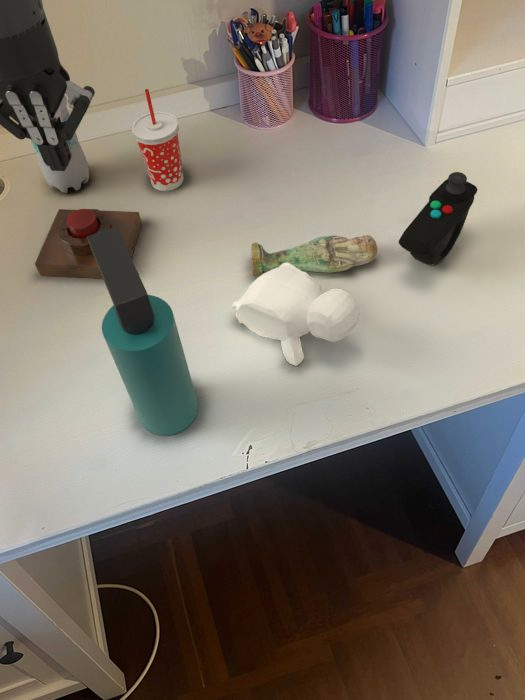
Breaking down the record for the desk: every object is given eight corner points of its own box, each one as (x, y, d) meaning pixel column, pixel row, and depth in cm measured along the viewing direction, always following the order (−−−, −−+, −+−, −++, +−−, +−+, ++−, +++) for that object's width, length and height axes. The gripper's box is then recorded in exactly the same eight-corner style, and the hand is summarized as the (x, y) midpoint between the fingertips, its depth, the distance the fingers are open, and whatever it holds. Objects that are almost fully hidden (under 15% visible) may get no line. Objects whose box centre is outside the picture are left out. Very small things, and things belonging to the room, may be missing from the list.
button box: (40, 275, 83) (29, 253, 80) (63, 221, 89) (54, 198, 86) (124, 279, 82) (116, 257, 79) (142, 224, 88) (135, 201, 84)
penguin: (242, 350, 78) (341, 381, 68) (213, 295, 73) (317, 320, 63) (285, 304, 82) (386, 328, 71) (261, 249, 76) (366, 266, 66)
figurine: (254, 247, 84) (252, 225, 81) (375, 247, 82) (377, 224, 79) (251, 279, 80) (248, 257, 77) (377, 279, 79) (379, 257, 76)
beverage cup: (140, 175, 94) (115, 85, 83) (179, 161, 95) (161, 71, 84) (154, 200, 90) (130, 110, 79) (195, 185, 92) (178, 94, 80)
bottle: (102, 183, 93) (57, 48, 77) (60, 204, 91) (4, 70, 75) (80, 160, 97) (33, 26, 81) (39, 180, 95) (-18, 47, 78)
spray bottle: (206, 421, 69) (173, 296, 53) (149, 445, 68) (97, 324, 52) (172, 345, 75) (133, 213, 59) (119, 365, 74) (64, 236, 58)
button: (67, 238, 82) (62, 228, 80) (75, 218, 84) (71, 208, 82) (94, 239, 81) (90, 229, 80) (102, 219, 83) (98, 209, 82)
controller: (470, 235, 82) (486, 170, 74) (420, 297, 77) (432, 234, 69) (439, 222, 84) (452, 157, 76) (389, 281, 79) (396, 219, 71)
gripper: (-82, 35, 60) (-6, 186, 74) (57, 35, 58) (108, 190, 72) (-49, -5, 64) (17, 144, 78) (81, -7, 62) (125, 147, 76)
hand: (61, 166), depth 75 cm, fingers closed
